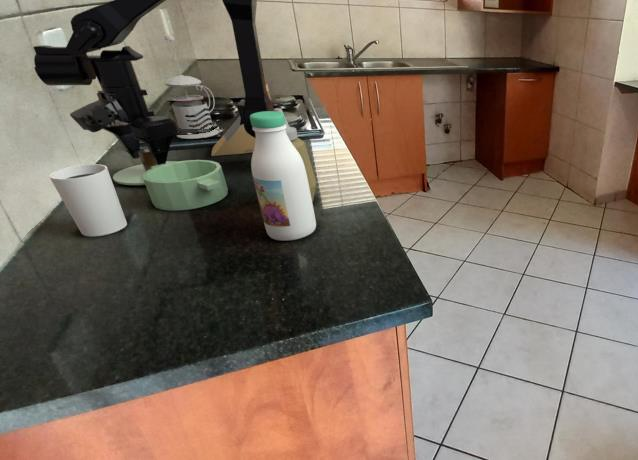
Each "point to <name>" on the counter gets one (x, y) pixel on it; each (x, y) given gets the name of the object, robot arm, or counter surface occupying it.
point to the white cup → (90, 198)
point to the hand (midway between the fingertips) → (148, 162)
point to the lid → (137, 170)
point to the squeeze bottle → (301, 154)
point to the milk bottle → (280, 180)
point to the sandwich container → (235, 140)
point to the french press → (191, 100)
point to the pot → (185, 184)
